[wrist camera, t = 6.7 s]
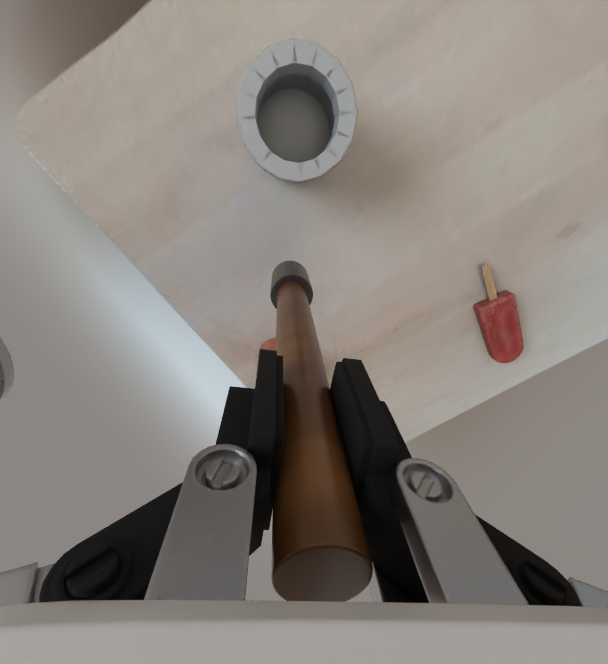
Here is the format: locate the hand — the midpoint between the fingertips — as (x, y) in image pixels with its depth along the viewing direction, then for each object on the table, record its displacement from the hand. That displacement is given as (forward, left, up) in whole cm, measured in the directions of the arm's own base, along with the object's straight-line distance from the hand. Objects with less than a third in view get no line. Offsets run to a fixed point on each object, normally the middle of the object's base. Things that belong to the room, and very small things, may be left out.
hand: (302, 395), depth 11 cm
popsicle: (+24, +16, -31) cm, 42 cm away
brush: (0, 0, -15) cm, 15 cm away
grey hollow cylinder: (-8, +7, -30) cm, 32 cm away
